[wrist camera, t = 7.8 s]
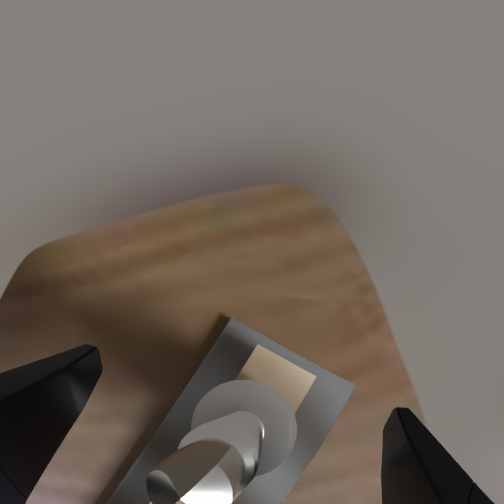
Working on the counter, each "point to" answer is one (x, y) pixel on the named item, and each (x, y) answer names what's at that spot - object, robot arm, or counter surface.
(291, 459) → the stand
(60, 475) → the counter surface
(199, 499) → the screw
